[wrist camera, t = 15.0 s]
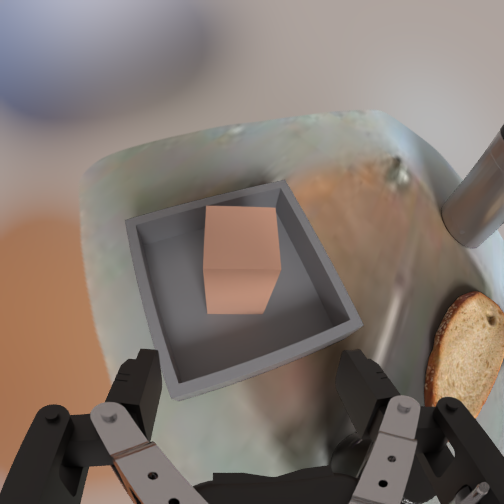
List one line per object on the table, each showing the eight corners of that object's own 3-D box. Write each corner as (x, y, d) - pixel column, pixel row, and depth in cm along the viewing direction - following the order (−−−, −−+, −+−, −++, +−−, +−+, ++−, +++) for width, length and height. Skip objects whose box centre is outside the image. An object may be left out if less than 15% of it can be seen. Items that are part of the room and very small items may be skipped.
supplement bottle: (356, 418, 27) (424, 412, 17) (398, 450, 25) (474, 452, 15) (314, 470, 24) (367, 495, 14) (360, 500, 22) (426, 528, 12)
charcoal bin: (277, 206, 39) (284, 179, 35) (344, 338, 31) (363, 325, 27) (135, 245, 34) (124, 220, 30) (178, 401, 26) (171, 398, 22)
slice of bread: (429, 451, 25) (449, 451, 22) (399, 310, 34) (415, 299, 31) (514, 399, 28) (532, 393, 25) (485, 289, 37) (501, 278, 33)
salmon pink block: (208, 264, 33) (206, 205, 24) (260, 265, 33) (275, 207, 25) (207, 314, 30) (203, 268, 22) (262, 314, 31) (281, 269, 22)
